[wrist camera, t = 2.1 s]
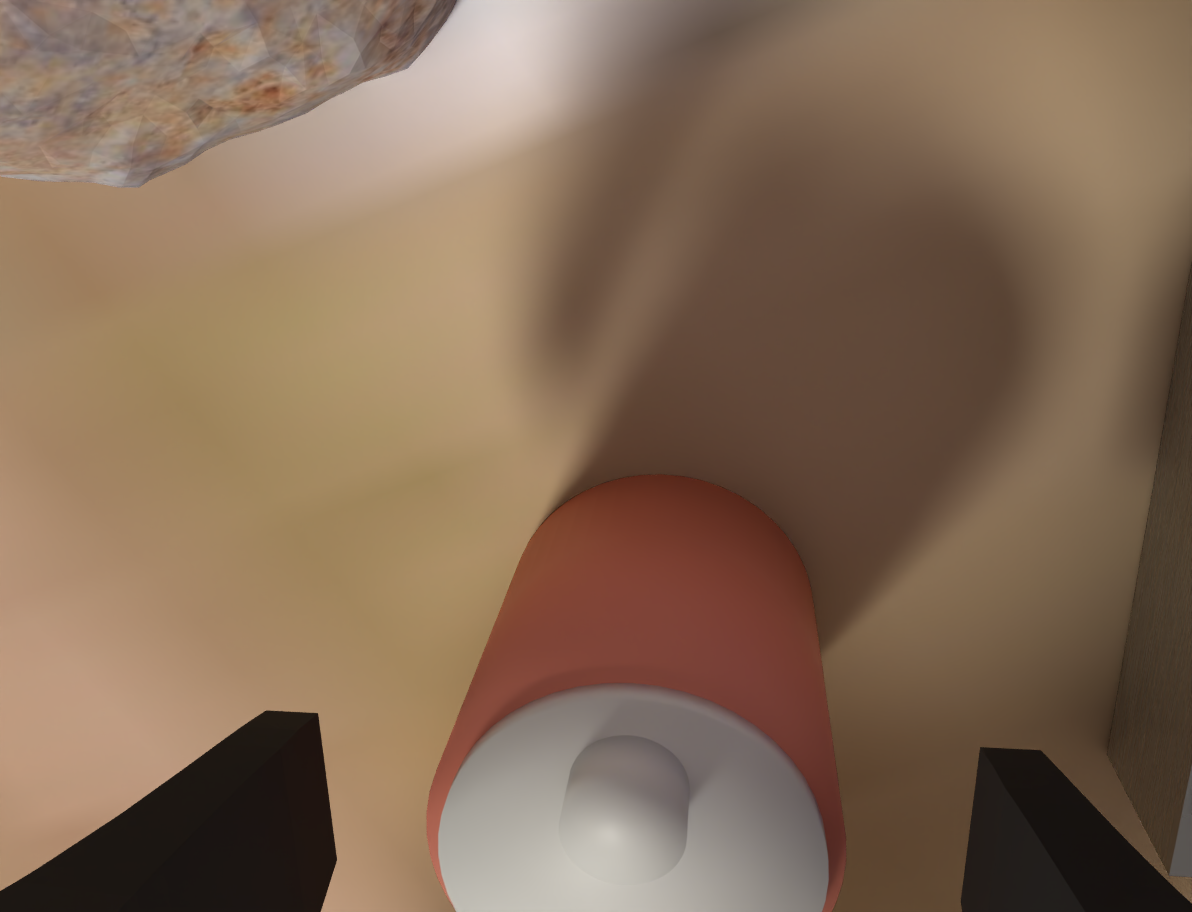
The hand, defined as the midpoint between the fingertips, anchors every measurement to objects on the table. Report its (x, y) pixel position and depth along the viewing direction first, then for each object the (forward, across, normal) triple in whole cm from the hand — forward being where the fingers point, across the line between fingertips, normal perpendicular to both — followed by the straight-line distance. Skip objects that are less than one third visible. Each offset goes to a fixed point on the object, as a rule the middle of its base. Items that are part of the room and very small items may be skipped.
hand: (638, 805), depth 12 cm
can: (+4, 0, 0) cm, 4 cm away
